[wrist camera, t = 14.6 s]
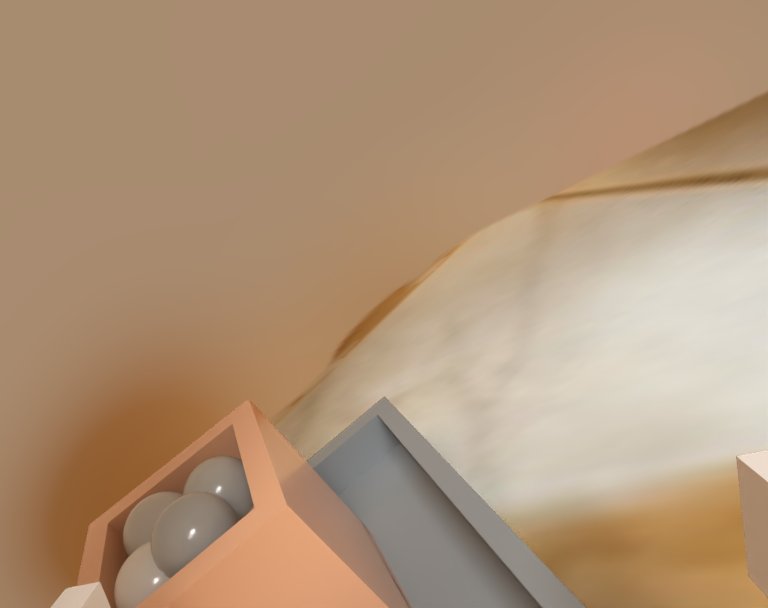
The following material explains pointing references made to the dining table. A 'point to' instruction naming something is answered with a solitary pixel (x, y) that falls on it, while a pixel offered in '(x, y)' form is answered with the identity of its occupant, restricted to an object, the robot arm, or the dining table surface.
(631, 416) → the dining table surface
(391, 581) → the peach box
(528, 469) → the dining table surface
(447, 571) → the slate dish
